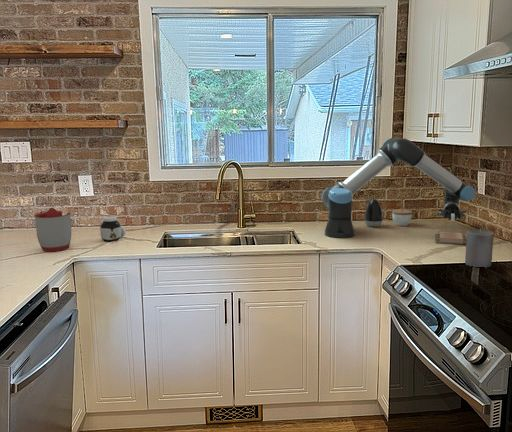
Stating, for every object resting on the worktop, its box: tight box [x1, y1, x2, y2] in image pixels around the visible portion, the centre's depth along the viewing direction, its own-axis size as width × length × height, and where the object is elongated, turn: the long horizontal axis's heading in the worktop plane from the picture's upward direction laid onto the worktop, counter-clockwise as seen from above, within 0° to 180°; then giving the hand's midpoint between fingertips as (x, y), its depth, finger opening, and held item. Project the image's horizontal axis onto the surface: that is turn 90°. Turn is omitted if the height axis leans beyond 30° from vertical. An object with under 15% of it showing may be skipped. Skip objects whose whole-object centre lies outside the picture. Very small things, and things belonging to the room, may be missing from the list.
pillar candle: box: [464, 228, 495, 269], centre depth 190 cm, size 10×10×15 cm
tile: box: [439, 231, 463, 244], centre depth 230 cm, size 2×10×13 cm
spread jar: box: [99, 215, 127, 243], centre depth 242 cm, size 12×11×12 cm
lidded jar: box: [391, 208, 413, 227], centre depth 267 cm, size 11×11×9 cm
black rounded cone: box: [363, 198, 384, 228], centre depth 264 cm, size 10×10×15 cm
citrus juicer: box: [33, 207, 73, 253], centre depth 223 cm, size 16×17×20 cm
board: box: [434, 233, 467, 246], centre depth 232 cm, size 18×14×1 cm
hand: (453, 218), depth 231 cm, fingers closed
